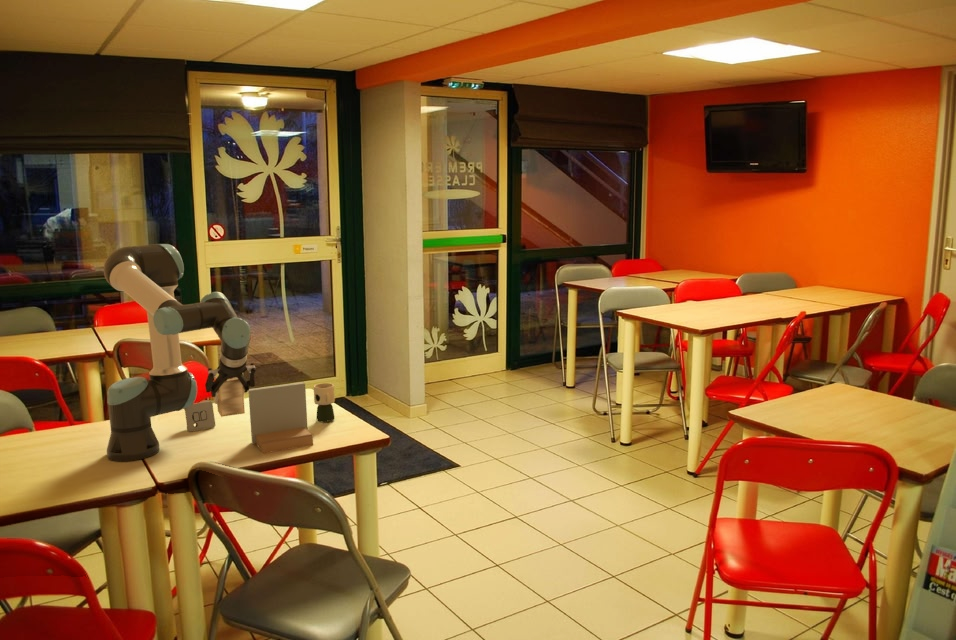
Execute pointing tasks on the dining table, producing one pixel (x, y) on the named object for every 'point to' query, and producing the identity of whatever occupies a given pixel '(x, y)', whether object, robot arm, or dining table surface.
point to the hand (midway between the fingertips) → (228, 398)
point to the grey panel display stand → (279, 417)
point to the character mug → (324, 401)
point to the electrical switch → (200, 416)
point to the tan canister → (231, 398)
